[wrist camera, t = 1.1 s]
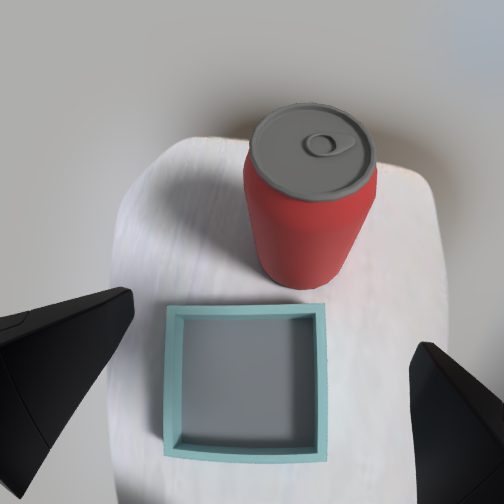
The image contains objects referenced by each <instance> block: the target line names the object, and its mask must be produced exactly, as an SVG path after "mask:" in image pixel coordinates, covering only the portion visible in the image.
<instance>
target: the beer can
mask: <svg viewBox="0 0 504 504" xmlns="http://www.w3.org/2000/svg"><path fill="white" fill-rule="evenodd" d="M249 148H250V149H249V151H248V154H247V157H246V160H245V163H244V169H243V178H244V191H245V195H246V200H247V205H248V210H249V215H250V220H251V225H252V229H253V234H254V239H255V244H256V249H257V254H258V258H259V260H260V262H261V265H262V267H263V269H264V270H265V272H266V273H267V274H268V275H269V276H270V277H271V278H272V279H273V280H274V281H276V282H278V283H279V284H281V285H283V286H285V287H288V288H292V289H297V290H306V289H315V288H317V287H320V286H322V285H324V284H327V283H328V282H329V281H330V280H331V279H333V278H334V277H335V276H336V275H337V274H338V272H339V271H340V269H341V267H342V265H343V263H344V261H345V259H346V258H347V256H348V254H349V252H350V250H351V248H352V246H353V243H354V241H355V239H356V237H357V235H358V233H359V231H360V229H361V227H362V225H363V223H364V221H365V219H366V217H367V214H368V212H369V210H370V208H371V206H372V204H373V201H374V199H375V197H376V185H377V167H376V160H377V159H376V158H377V150H376V147H375V144H374V141H373V138H372V136H371V134H370V133H369V132H368V131H367V129H366V128H365V127H364V125H363V124H362V123H361V122H359V121H358V120H357V119H355V118H354V117H353V116H351V115H350V114H348V113H347V112H344V111H342V110H340V109H337V108H335V107H333V106H329V105H324V104H317V103H296V104H292V105H289V106H285V107H282V108H279V109H277V110H275V111H273V112H272V113H270V114H269V115H267V116H265V117H264V118H263V119H262V120H261V121H260V122H259V124H258V125H257V126H256V127H255V128H254V131H253V134H252V136H251V139H250V141H249Z"/></svg>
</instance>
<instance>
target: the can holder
mask: <svg viewBox="0 0 504 504" xmlns="http://www.w3.org/2000/svg"><path fill="white" fill-rule="evenodd" d="M163 438H164V456H169V457H176V458H184V459H192V460H202V461H214V462H229V463H255V464H283V463H309V462H324V461H327V441H328V378H327V341H326V318H325V303H312V304H283V305H231V306H182V305H167V315H166V332H165V355H164V392H163Z"/></svg>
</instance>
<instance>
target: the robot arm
mask: <svg viewBox="0 0 504 504" xmlns="http://www.w3.org/2000/svg"><path fill="white" fill-rule="evenodd" d="M134 313H135V310H134V299H133V292H132V290H131V289H128V288H124V287H117V288H113V289H109V290H105V291H101V292H98V293H94V294H90V295H86V296H82V297H79V298H75V299H71V300H67V301H63V302H60V303H56V304H52V305H48V306H45V307H41V308H37V309H33V310H31V311H25V312H21V313H18V314H14V315H9V316H5V317H0V484H2V485H3V486H4V487H5V488H6V489H7V490H9V491H10V492H11V493H12V494H14V495H15V496H16V497H17V498H19V499H21V498H22V497H23V495H24V493H25V492H26V490H27V488H28V487H29V485H30V483H31V481H32V480H33V478H34V476H35V474H36V473H37V471H38V469H39V468H40V466H41V465H42V463H43V461H44V460H45V458H46V456H47V455H48V453H49V451H50V449H51V448H52V446H53V445H54V443H55V441H56V440H57V438H58V437H59V435H60V433H61V432H62V430H63V429H64V427H65V425H66V424H67V423H68V421H69V420H70V418H71V416H72V415H73V413H74V412H75V410H76V409H77V407H78V406H79V404H80V402H81V401H82V400H83V398H84V396H85V395H86V394H87V392H88V391H89V389H90V387H91V386H92V385H93V383H94V382H95V380H96V379H97V377H98V376H99V374H100V373H101V371H102V370H103V368H104V367H105V366H106V364H107V363H108V361H109V360H110V358H111V357H112V355H113V354H114V352H115V350H116V349H117V347H118V345H119V343H120V341H121V340H122V338H123V336H124V334H125V332H126V331H127V329H128V327H129V325H130V323H131V322H132V320H133V318H134ZM409 382H410V413H411V423H412V432H413V441H414V453H415V466H416V484H417V504H504V403H502V401H501V400H500V399H499V398H498V397H497V396H496V395H494V394H493V393H492V392H491V391H490V390H488V388H486V387H485V386H484V385H483V384H482V383H480V382H479V381H478V380H477V379H476V378H475V377H473V376H472V375H471V374H470V373H469V372H467V371H466V370H465V369H464V368H463V367H462V366H460V365H459V364H458V363H457V362H456V361H454V360H453V359H452V358H451V357H450V356H448V355H447V354H446V353H445V352H444V351H442V350H441V349H440V348H439V347H437V346H436V345H435V344H434V343H432V342H420V343H419V345H418V346H417V349H416V351H415V353H414V356H413V358H412V360H411V362H410V366H409Z"/></svg>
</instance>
